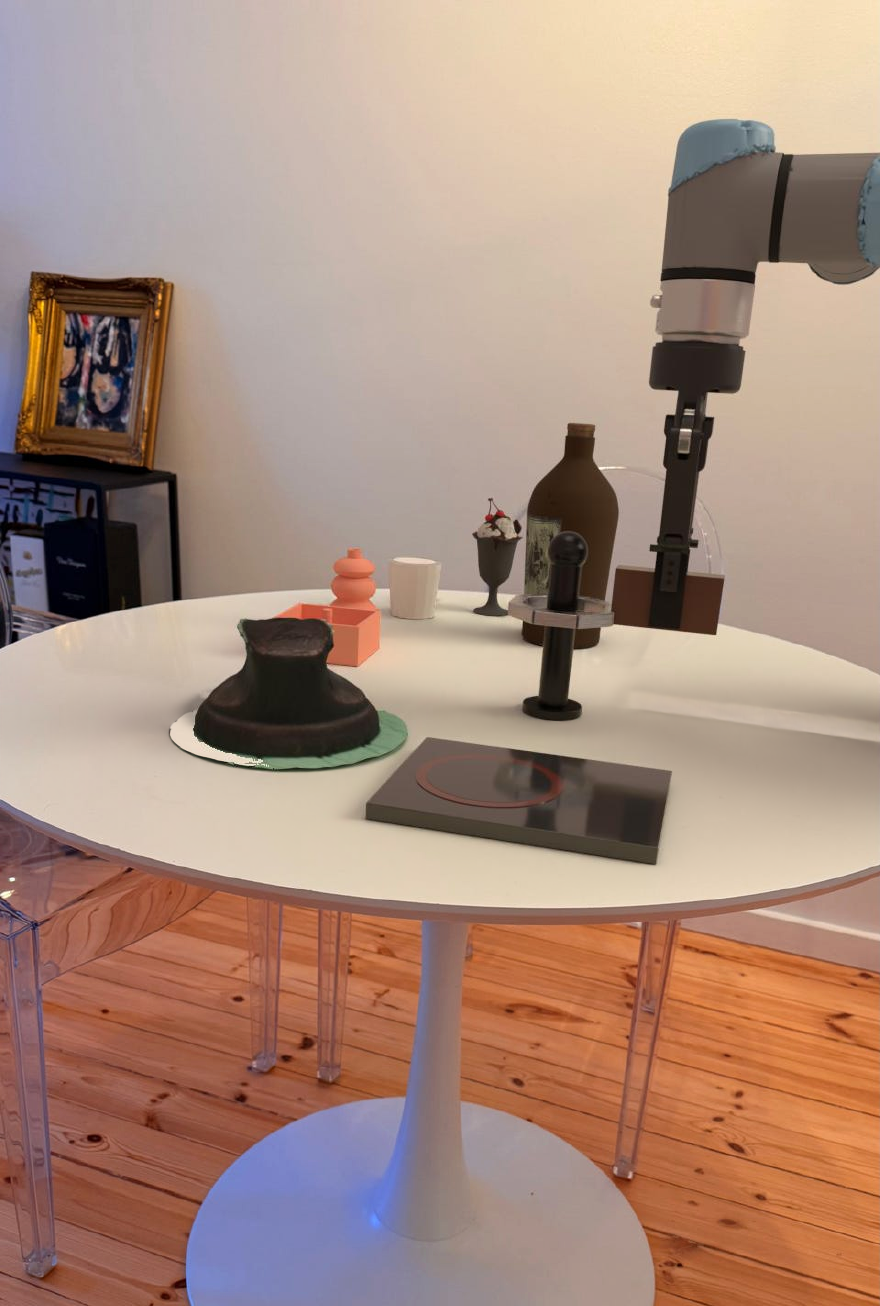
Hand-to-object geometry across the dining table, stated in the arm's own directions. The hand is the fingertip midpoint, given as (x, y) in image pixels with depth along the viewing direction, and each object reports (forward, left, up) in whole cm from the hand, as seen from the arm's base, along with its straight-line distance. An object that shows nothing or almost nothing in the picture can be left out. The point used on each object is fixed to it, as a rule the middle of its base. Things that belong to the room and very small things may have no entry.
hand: (664, 623), depth 97 cm
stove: (+7, +24, -9) cm, 27 cm away
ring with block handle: (+5, 0, 0) cm, 5 cm away
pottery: (+36, -16, -10) cm, 41 cm away
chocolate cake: (+29, +16, -10) cm, 35 cm away
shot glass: (+33, -36, -10) cm, 50 cm away
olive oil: (+13, -31, -10) cm, 35 cm away
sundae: (+24, -43, -10) cm, 50 cm away
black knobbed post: (+9, 0, -9) cm, 13 cm away
